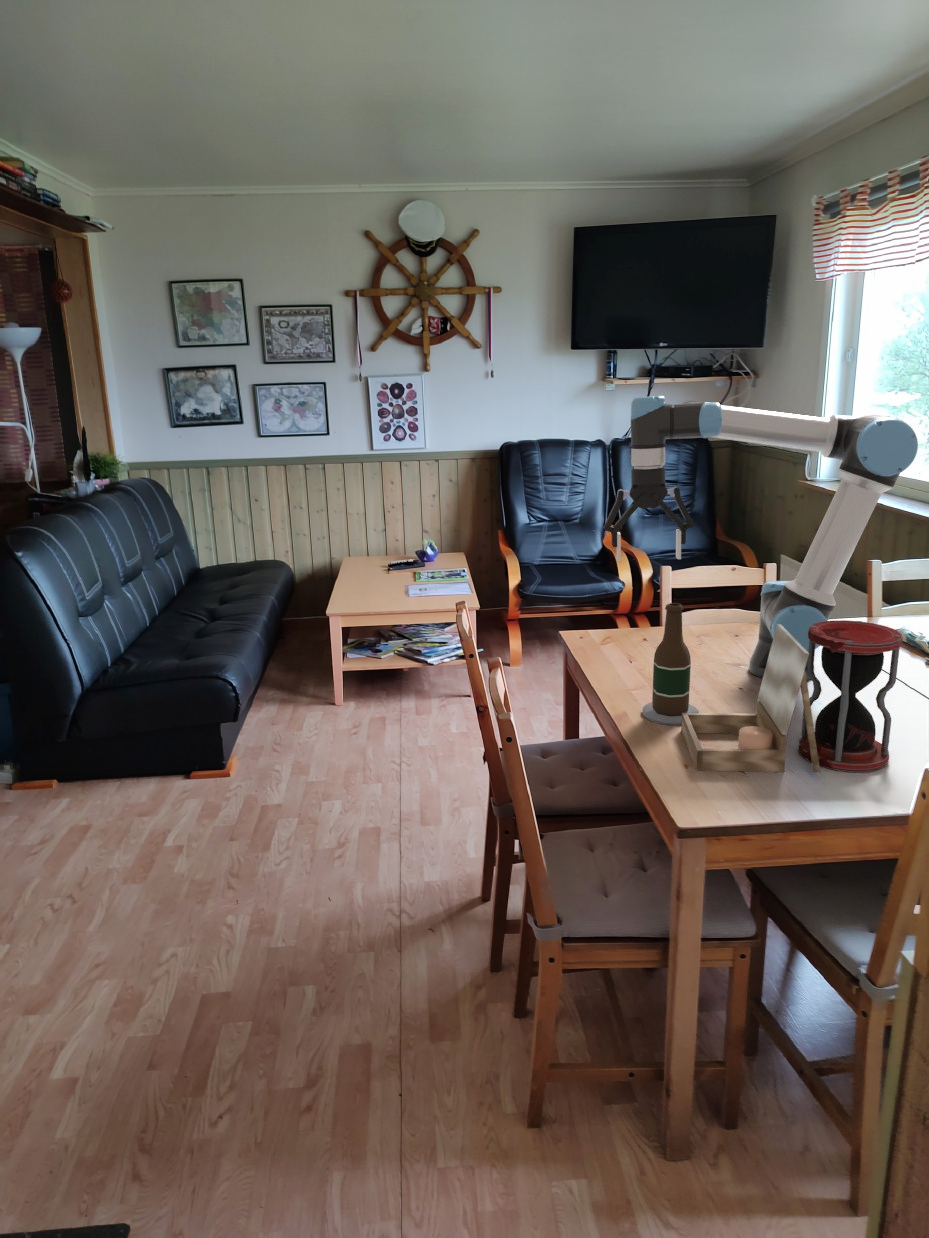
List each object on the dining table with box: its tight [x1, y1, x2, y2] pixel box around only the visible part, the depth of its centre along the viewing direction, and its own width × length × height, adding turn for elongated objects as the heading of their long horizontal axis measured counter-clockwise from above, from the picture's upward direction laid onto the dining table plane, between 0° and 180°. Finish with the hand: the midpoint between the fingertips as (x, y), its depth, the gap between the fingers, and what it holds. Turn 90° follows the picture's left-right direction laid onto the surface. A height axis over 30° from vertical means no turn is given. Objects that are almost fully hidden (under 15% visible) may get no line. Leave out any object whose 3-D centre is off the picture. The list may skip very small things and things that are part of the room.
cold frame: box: [680, 624, 821, 773], centre depth 165 cm, size 23×19×24 cm
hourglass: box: [797, 619, 903, 773], centre depth 162 cm, size 16×16×25 cm
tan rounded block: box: [737, 726, 772, 749], centre depth 163 cm, size 6×6×6 cm
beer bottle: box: [651, 602, 692, 716], centre depth 184 cm, size 8×8×24 cm
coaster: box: [642, 701, 700, 726], centre depth 187 cm, size 12×12×1 cm
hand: (648, 559), depth 198 cm, fingers open, 13 cm apart
